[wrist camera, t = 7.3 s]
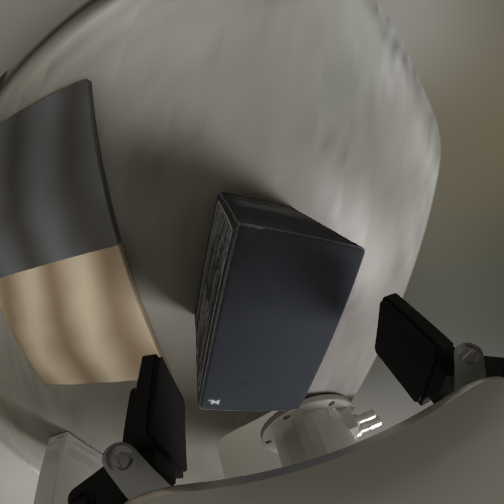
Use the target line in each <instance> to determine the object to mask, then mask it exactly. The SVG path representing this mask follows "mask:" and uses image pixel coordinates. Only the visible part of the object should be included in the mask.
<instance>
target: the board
mask: <svg viewBox="0 0 504 504" xmlns="http://www.w3.org/2000/svg"><path fill="white" fill-rule="evenodd" d="M0 309H1V311H2V313H3V315H4V317H5V319H6V321H7V323H8V325H9V327H10V329H11V331H12V333H13V335H14V337H15V338H16V340H17V342H18V344H19V346H20V347H21V349H22V351H23V352H24V354H25V356H26V357H27V359H28V361H29V362H30V364H31V365H32V367H33V369H34V370H35V372H36V373H37V375H38V376H39V378H40V379H41V381H42V382H43V383H44V385H71V384H95V383H110V382H122V381H133V380H138V377H139V371H140V366H141V361H142V357H143V356H146V355H152V354H157V355H158V357H163V359H164V361H165V363H166V365H167V367H168V369H169V372H170V368H169V366H168V364H167V362H166V360H165V358H164V355H163V353H162V351H161V349H160V346H159V344H158V342H157V339H156V337H155V334H154V332H153V330H152V327H151V325H150V322H149V320H148V317H147V315H146V312H145V309H144V307H143V304H142V301H141V299H140V296H139V293H138V290H137V287H136V285H135V282H134V279H133V276H132V273H131V270H130V267H129V264H128V261H127V257H126V254H125V251H124V248H123V244H122V241H121V238H120V234H119V230H118V227H117V223H116V219H115V216H114V212H113V208H112V204H111V200H110V195H109V191H108V187H107V182H106V178H105V173H104V168H103V163H102V158H101V152H100V146H99V140H98V134H97V128H96V121H95V113H94V105H93V95H92V85H91V81H89V80H88V79H85V80H82V81H80V82H78V83H75V84H73V85H71V86H68V87H66V88H64V89H62V90H60V91H58V92H56V93H54V94H52V95H50V96H48V97H46V98H44V99H42V100H40V101H38V102H36V103H34V104H32V105H31V106H29V107H27V108H25V109H24V110H22V111H20V112H18V113H17V114H15V115H14V116H12V117H10V118H9V119H7V120H6V121H4V122H2V123H1V124H0Z"/></svg>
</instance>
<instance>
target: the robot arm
mask: <svg viewBox="0 0 504 504" xmlns="http://www.w3.org/2000/svg"><path fill="white" fill-rule="evenodd" d="M375 350H376V353H377V354H378V356H379V357H380V358H381V359H382V361H383V362H384V363H385V364H386V366H387V367H388V368H389V369H390V371H391V372H392V373H393V375H394V376H395V377H396V378H397V380H398V381H399V382H400V383H401V385H402V386H403V387H404V389H405V390H406V391H407V392H408V394H409V395H410V397H411V398H412V399H413V400H414V401H415V402H417V401H418V403H419V404H420V405H421V406H422V405H424V404H426V403H427V402H429V401H430V400H432V402H433V405H431V406H430V407H428V408H426V409H424V410H423V411H421V412H419V413H418V414H416V415H414V416H412V417H410V418H408V419H406V420H404V421H403V422H401V423H399V424H397V425H395V426H393V427H391V428H389V429H387V430H384V431H382V432H380V433H378V434H376V435H374V436H372V437H369V438H367V439H364V440H362V441H360V442H359V441H358V439H357V438H358V437H361V434H362V433H365V432H366V431H371V430H373V429H375V428H377V427H379V426H381V424H382V423H381V419H380V417H379V416H378V415H377V414H375V412H374V410H373V409H371V410H369V411H366V412H364V413H363V414H360V415H358V416H357V415H356V414H355V408H354V407H353V404H352V403H351V401H350V400H349V399H348V398H346V397H344V396H341V395H336V394H325V395H317V396H312V397H309V398H305V399H304V400H303V402H302V404H301V406H300V408H299V409H297V410H281V411H278V412H277V413H275V414H274V415H273V416H272V417H271V418H269V420H268V421H267V422H266V423H265V424H264V426H263V428H262V431H261V439H262V442H263V445H264V446H265V447H266V448H267V449H268V450H270V451H272V452H275V453H278V454H279V458H280V461H281V465H282V468H278V469H274V470H270V471H266V472H261V473H256V474H251V475H246V476H240V477H235V478H229V479H222V480H215V481H208V482H199V483H192V484H184V485H176V486H174V484H175V483H176V478H183V472H184V471H187V461H186V438H185V403H184V399H183V397H182V395H181V393H180V391H179V389H178V387H177V385H176V383H175V382H174V380H173V378H172V376H171V374H170V372H169V369H168V367H167V365H166V363H165V361H164V359H163V357H158V355H157V354H152V355H146V356H143V357H142V361H141V366H140V371H139V377H138V382H137V388H133V389H132V390H131V393H130V398H129V403H128V409H127V415H126V422H125V428H124V435H123V442H118V443H114V444H112V445H110V446H109V447H108V448H107V449H106V450H105V451H104V453H103V456H102V464H103V467H102V468H100V469H99V470H98V471H96V472H95V473H94V474H92V475H91V476H90V477H88V478H87V479H86V480H84V481H83V482H82V483H80V484H79V485H78V486H76V487H75V488H74V489H73V490H72V491H70V493H69V495H68V504H504V358H500V357H490V356H484V355H483V352H482V350H481V348H479V346H477V345H476V344H473V343H469V342H465V343H461V344H459V345H458V346H457V347H456V348H455V347H453V343H452V342H451V341H450V340H449V339H448V338H447V337H446V336H445V335H444V334H443V333H441V332H440V331H439V330H438V329H437V328H436V327H435V326H434V325H432V324H431V323H430V322H429V321H428V320H427V319H425V317H423V316H422V315H421V314H420V313H419V312H417V311H416V310H415V309H414V308H413V307H412V306H410V305H409V304H408V303H407V302H406V301H405V300H404V299H402V298H401V297H400V296H399V295H398V294H396V293H394V294H391V295H388V296H386V297H384V298H383V300H382V301H381V303H380V309H379V319H378V328H377V336H376V343H375Z"/></svg>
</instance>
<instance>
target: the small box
mask: <svg viewBox="0 0 504 504" xmlns="http://www.w3.org/2000/svg"><path fill="white" fill-rule="evenodd" d="M208 238H209V239H208V245H207V249H206V255H205V260H204V265H203V269H202V275H201V281H200V287H199V291H198V299H197V305H196V311H195V325H196V348H197V353H196V359H197V387H198V403H199V408H200V409H206V410H228V411H281V410H297V409H299V408H300V406H301V404H302V402H303V400H304V398H305V396H306V394H307V392H308V390H309V388H310V386H311V384H312V382H313V379H314V377H315V375H316V373H317V371H318V369H319V367H320V365H321V362H322V360H323V358H324V356H325V354H326V351H327V349H328V347H329V344H330V342H331V340H332V338H333V335H334V333H335V330H336V328H337V326H338V323H339V321H340V318H341V316H342V313H343V311H344V308H345V306H346V303H347V301H348V298H349V295H350V293H351V290H352V287H353V285H354V282H355V279H356V276H357V274H358V271H359V268H360V265H361V262H362V259H363V256H364V253H365V250H364V248H362V247H361V246H359V245H357V244H356V243H353V242H351V241H350V240H348V239H347V238H345V237H343V236H341V235H339V234H338V233H336V232H334V231H333V230H331V229H329V228H327V227H326V226H324V225H322V224H320V223H318V222H317V221H315V220H314V219H312V218H310V217H308V216H306V215H304V214H303V213H301V212H299V211H297V210H296V209H294V208H291V207H287V206H283V205H279V204H275V203H270V202H266V201H262V200H257V199H253V198H248V197H243V196H239V195H234V194H229V193H225V192H221V193H219V194H218V199H217V203H216V207H215V211H214V216H213V221H212V226H211V231H210V235H209V237H208Z"/></svg>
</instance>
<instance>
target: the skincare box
mask: <svg viewBox="0 0 504 504" xmlns="http://www.w3.org/2000/svg"><path fill="white" fill-rule="evenodd" d="M102 456H103V454H101V453H99V452H98V451H96V450H94V449H93V448H91V447H90V446H88V445H86V444H85V443H83V442H82V441H80V440H79V439H77V438H76V437H75V436H73V435H72V434H70V433H69V432H65V433H62V434H59V435H56V436H53V437H51V438H49V442H48V445H47V448H46V452H45V456H44V460H43V463H42V467H41V471H40V476H39V480H38V485H37V490H36V494H35V500H34V504H68V495H69V493H70V491H72V490H73V489H74V488H75V487H76V486H78V485H79V484H80V483H82V482H83V481H84V480H86V479H87V478H88V477H90V476H91V475H92V474H94V473H95V472H96V471H98V470H99V469H100V468H102V467H103V464H102Z"/></svg>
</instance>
